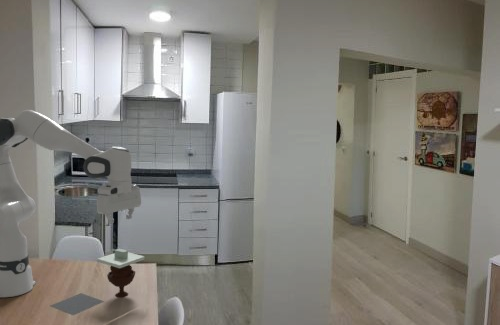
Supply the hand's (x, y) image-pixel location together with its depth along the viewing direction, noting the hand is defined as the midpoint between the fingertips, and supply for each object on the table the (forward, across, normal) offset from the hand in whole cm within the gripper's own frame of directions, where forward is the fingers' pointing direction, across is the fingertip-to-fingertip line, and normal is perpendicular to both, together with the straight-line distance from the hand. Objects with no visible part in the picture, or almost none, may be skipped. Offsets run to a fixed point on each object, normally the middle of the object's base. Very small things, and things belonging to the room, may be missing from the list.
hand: (120, 220), depth 168 cm
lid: (+16, 0, +1) cm, 16 cm away
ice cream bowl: (+31, 0, +1) cm, 31 cm away
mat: (+31, +15, -7) cm, 35 cm away
